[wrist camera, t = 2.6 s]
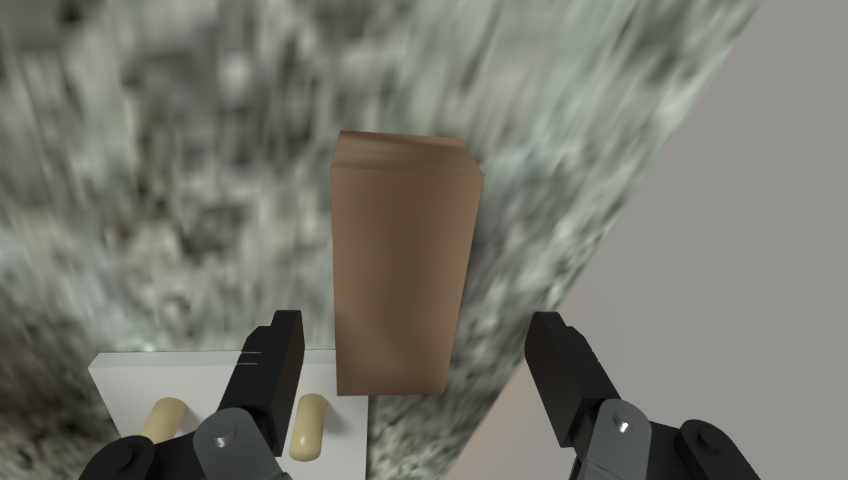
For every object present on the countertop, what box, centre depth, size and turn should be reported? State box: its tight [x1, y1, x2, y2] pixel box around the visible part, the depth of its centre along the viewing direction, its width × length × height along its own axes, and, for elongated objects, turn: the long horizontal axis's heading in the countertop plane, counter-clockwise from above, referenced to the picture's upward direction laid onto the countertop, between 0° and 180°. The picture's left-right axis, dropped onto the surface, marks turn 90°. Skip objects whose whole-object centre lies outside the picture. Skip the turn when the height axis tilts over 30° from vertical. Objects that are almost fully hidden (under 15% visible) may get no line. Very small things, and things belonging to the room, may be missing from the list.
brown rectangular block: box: [331, 130, 484, 396], centre depth 17 cm, size 5×11×4 cm, turn 175°
